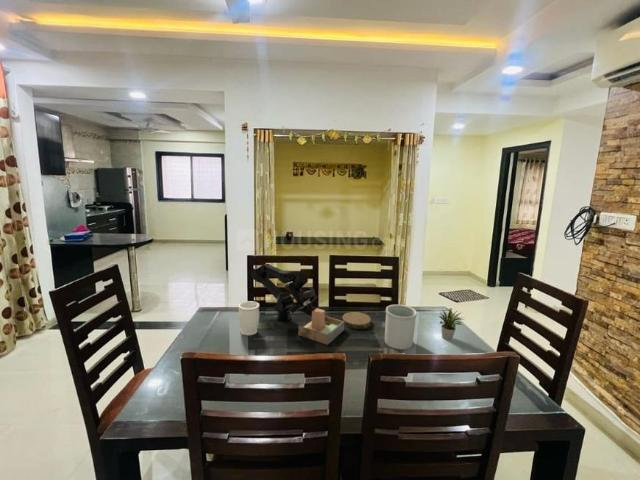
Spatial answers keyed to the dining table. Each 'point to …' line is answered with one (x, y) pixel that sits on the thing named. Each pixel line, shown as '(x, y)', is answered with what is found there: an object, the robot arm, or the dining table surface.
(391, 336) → the utensil holder
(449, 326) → the house plant
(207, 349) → the dining table surface
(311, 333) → the board
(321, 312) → the terracotta block
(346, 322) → the wood slice
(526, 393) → the dining table surface
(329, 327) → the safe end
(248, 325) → the jar
